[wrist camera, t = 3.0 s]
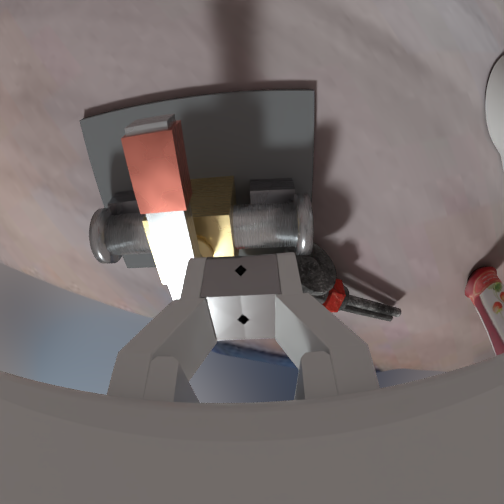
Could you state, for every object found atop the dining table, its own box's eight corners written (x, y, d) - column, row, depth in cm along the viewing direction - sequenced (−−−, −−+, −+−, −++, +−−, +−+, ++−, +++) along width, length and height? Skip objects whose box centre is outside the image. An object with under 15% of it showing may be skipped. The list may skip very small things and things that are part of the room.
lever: (212, 276, 25) (208, 305, 23) (178, 277, 25) (171, 306, 23) (183, 108, 16) (170, 121, 14) (138, 115, 17) (119, 130, 14)
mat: (312, 89, 23) (314, 90, 22) (306, 256, 35) (307, 260, 34) (83, 118, 24) (79, 120, 23) (129, 263, 36) (127, 268, 35)
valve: (206, 287, 40) (257, 218, 30) (350, 322, 49) (416, 280, 39) (201, 330, 36) (256, 271, 26) (354, 356, 45) (427, 319, 35)
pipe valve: (303, 172, 28) (318, 214, 22) (301, 232, 32) (312, 282, 26) (105, 189, 28) (74, 230, 22) (123, 242, 33) (101, 288, 27)
